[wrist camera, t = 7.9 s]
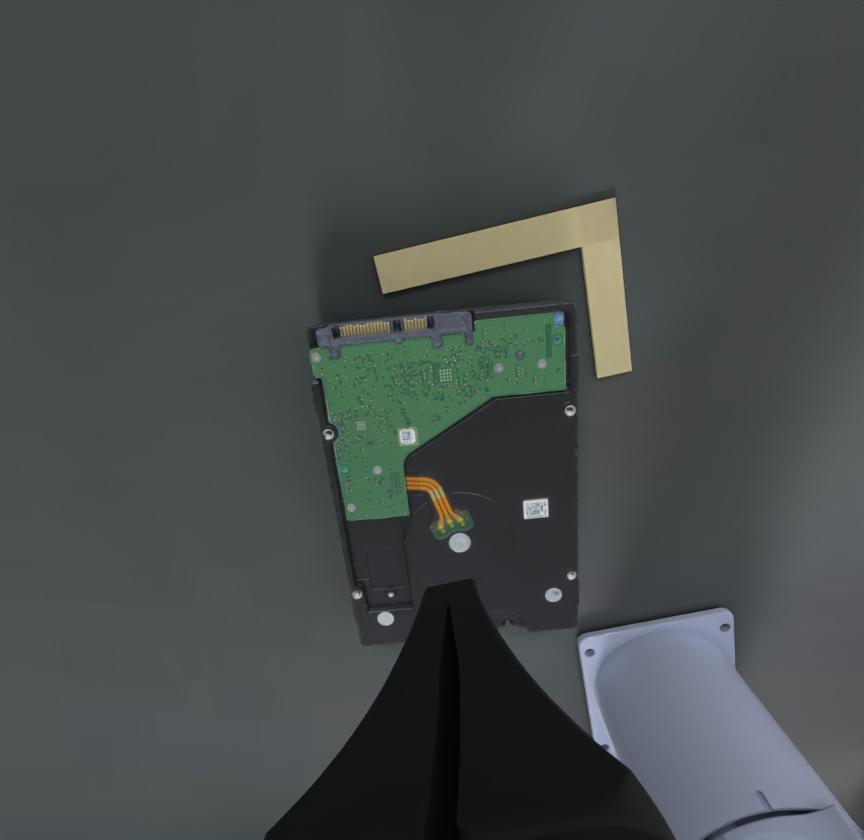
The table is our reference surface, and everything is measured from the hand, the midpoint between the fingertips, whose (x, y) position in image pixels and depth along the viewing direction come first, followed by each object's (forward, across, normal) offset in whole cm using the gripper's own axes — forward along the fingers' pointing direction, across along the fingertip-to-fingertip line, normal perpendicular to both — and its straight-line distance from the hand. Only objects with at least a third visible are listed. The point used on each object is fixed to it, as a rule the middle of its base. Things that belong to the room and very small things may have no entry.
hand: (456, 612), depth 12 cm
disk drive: (+10, 0, 0) cm, 10 cm away
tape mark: (+9, -5, -6) cm, 12 cm away
